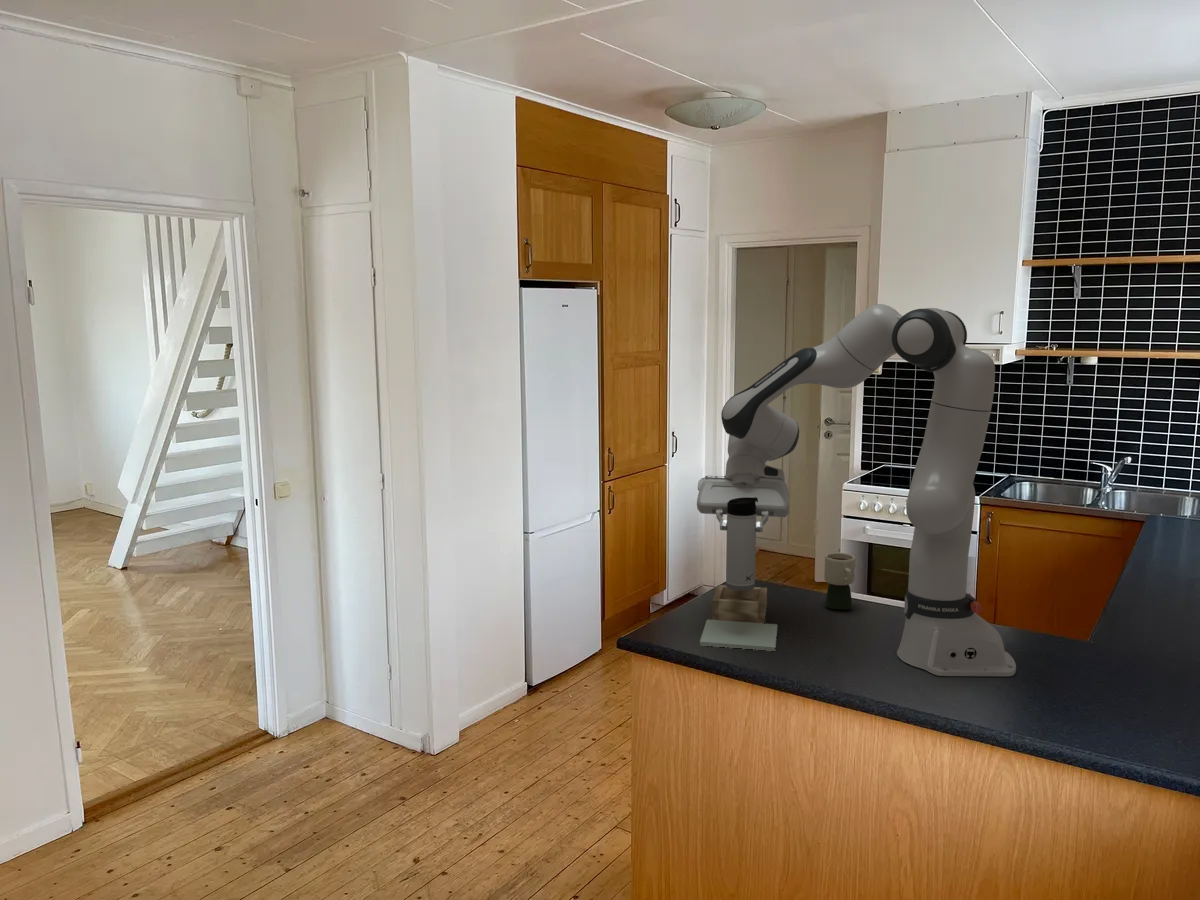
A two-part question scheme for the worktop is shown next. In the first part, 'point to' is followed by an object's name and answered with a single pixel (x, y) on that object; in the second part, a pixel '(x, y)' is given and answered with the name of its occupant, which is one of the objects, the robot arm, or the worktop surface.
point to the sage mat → (739, 635)
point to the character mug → (839, 579)
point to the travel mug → (741, 544)
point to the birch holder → (739, 605)
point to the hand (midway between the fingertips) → (741, 530)
